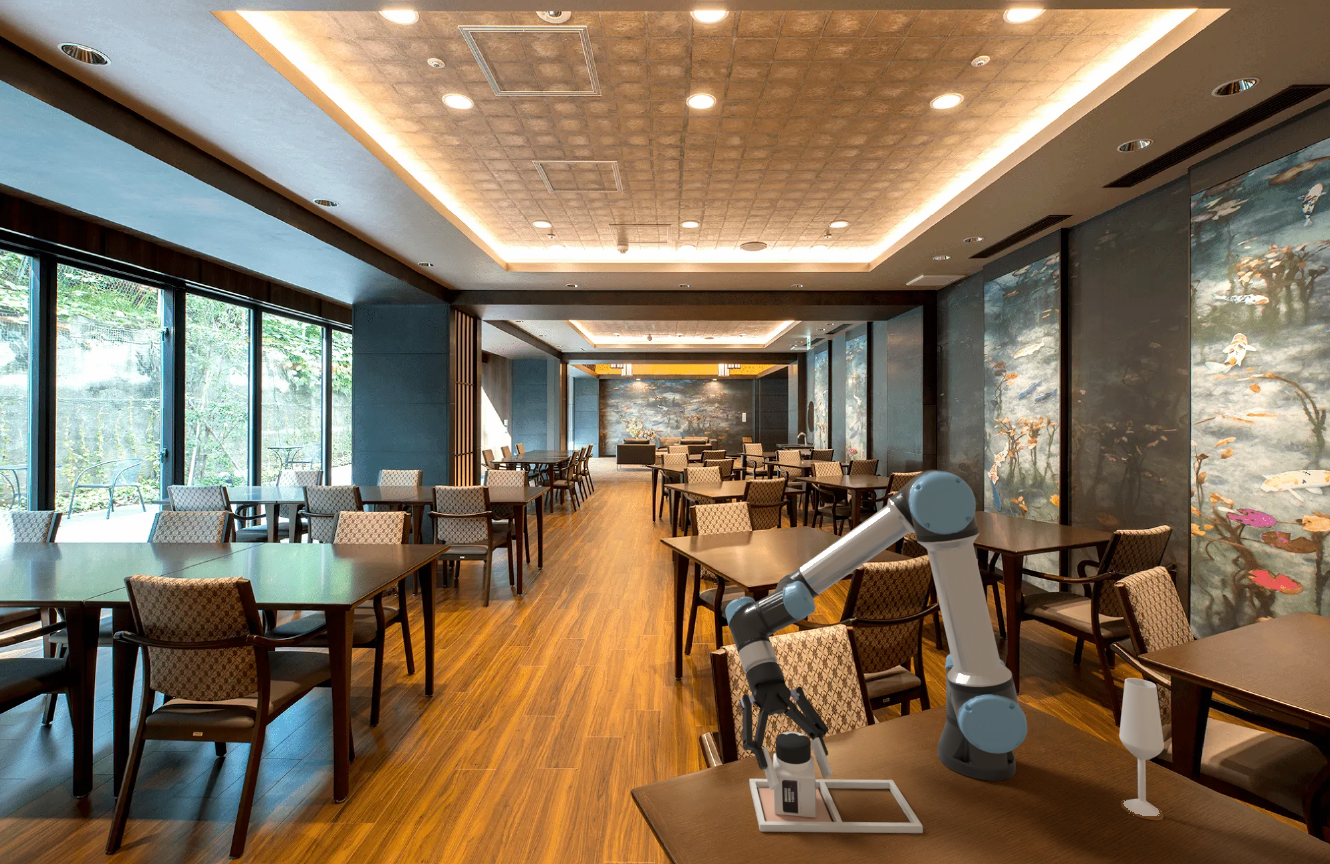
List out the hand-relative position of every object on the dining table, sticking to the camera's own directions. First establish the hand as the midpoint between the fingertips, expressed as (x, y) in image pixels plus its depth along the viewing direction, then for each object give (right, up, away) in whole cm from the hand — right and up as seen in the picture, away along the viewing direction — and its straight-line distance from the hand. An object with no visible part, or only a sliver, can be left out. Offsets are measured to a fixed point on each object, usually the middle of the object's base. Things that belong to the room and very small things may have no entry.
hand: (801, 781), depth 114 cm
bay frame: (+6, -6, +2) cm, 9 cm away
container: (-1, -6, +3) cm, 7 cm away
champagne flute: (+65, -7, +2) cm, 65 cm away
